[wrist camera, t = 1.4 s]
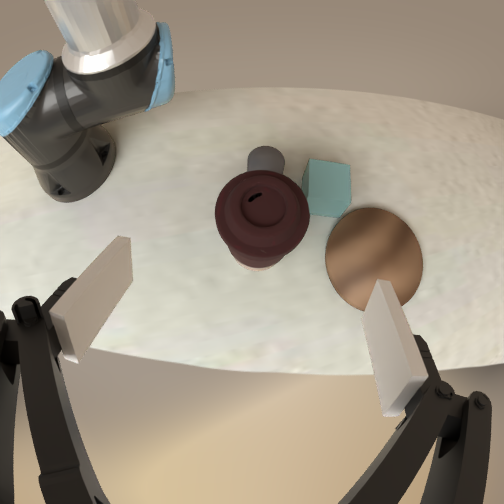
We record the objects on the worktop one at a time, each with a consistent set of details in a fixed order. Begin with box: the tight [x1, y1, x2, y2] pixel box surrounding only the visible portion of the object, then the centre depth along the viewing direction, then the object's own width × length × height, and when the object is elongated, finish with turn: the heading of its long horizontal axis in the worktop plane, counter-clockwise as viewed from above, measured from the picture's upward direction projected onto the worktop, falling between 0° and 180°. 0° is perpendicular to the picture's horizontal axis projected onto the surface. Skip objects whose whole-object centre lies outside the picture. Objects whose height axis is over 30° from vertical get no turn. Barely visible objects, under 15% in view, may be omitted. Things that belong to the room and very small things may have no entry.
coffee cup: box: [215, 170, 310, 271], centre depth 39 cm, size 10×10×15 cm
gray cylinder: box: [247, 146, 285, 174], centre depth 45 cm, size 5×5×7 cm
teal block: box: [302, 159, 351, 218], centre depth 46 cm, size 6×6×6 cm
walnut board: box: [325, 208, 423, 311], centre depth 46 cm, size 16×16×1 cm
